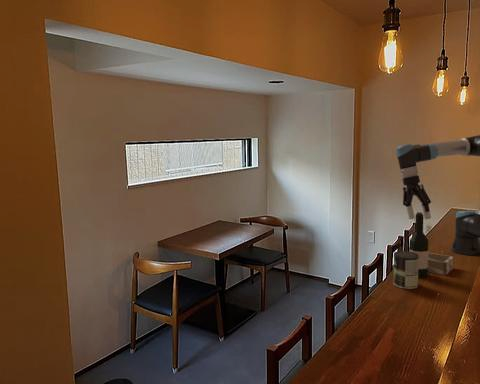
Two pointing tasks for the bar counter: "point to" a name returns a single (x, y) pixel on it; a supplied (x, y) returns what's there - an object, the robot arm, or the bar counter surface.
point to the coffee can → (406, 269)
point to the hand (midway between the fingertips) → (419, 218)
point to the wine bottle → (420, 246)
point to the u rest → (440, 263)
